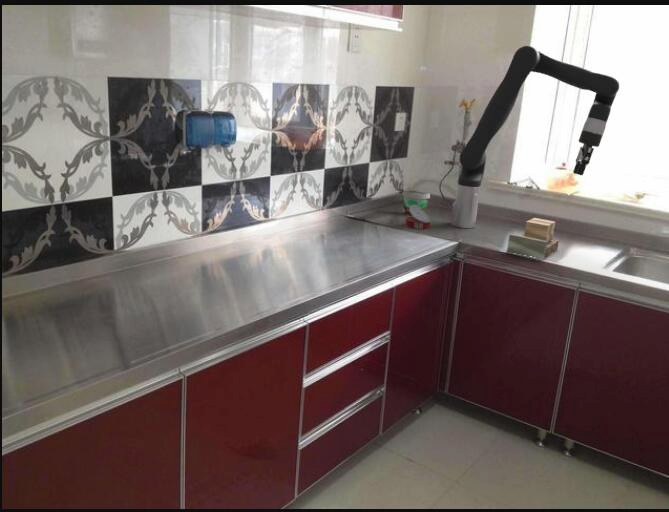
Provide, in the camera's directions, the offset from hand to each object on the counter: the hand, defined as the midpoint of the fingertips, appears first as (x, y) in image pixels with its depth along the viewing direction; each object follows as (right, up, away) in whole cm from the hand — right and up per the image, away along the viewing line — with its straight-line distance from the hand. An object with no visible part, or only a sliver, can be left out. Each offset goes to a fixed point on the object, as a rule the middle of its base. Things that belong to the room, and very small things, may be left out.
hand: (577, 174), depth 242 cm
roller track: (-19, -29, -5) cm, 35 cm away
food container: (-57, -13, +40) cm, 71 cm away
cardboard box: (-15, -25, -2) cm, 29 cm away
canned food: (-58, -19, +19) cm, 64 cm away
